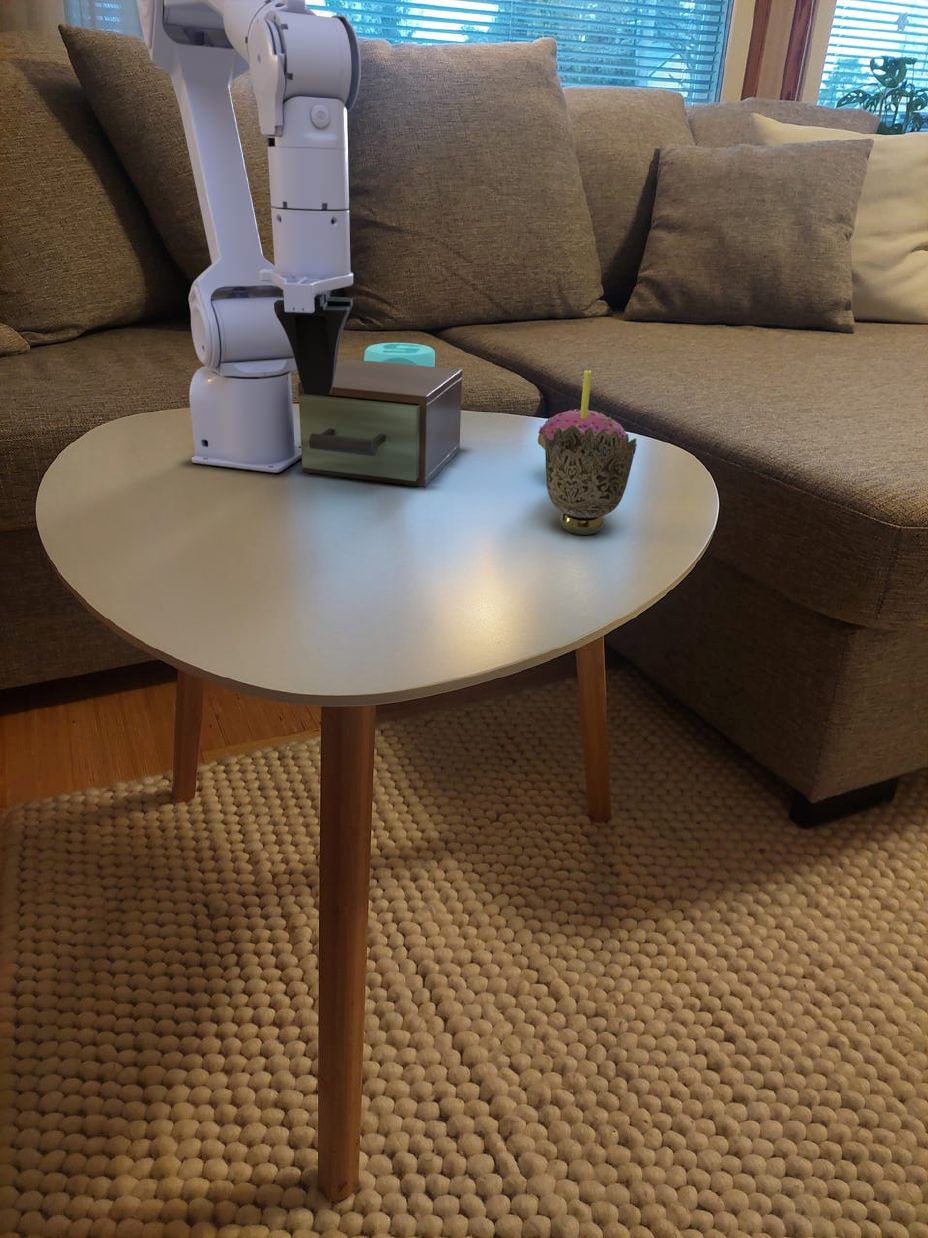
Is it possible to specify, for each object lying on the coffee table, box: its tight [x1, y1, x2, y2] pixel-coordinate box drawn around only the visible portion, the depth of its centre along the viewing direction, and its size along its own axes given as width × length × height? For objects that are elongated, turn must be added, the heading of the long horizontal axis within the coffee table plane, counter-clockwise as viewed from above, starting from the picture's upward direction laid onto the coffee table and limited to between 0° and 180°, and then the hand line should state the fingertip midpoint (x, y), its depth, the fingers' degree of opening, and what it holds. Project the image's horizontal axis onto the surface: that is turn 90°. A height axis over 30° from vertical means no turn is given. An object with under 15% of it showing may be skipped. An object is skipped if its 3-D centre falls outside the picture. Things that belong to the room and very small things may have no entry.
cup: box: [544, 426, 638, 536], centre depth 73 cm, size 8×7×8 cm
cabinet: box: [297, 358, 463, 488], centre depth 88 cm, size 13×13×9 cm
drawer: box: [298, 394, 420, 481], centre depth 84 cm, size 16×11×7 cm
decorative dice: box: [363, 342, 436, 367], centre depth 103 cm, size 8×8×8 cm
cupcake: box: [537, 361, 628, 450], centre depth 83 cm, size 9×8×12 cm
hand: (318, 392), depth 71 cm, fingers closed
